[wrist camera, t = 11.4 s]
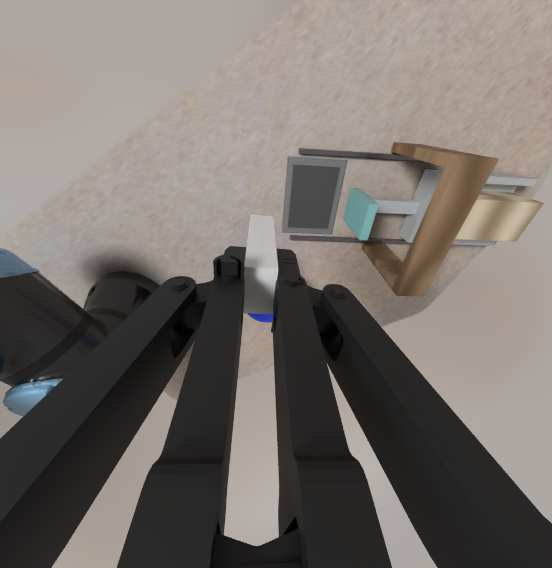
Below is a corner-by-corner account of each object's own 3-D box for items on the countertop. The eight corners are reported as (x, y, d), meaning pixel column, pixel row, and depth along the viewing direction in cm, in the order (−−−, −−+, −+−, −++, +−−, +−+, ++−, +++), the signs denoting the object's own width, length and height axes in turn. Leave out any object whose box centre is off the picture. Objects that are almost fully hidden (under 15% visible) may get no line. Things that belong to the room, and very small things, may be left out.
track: (289, 240, 43) (290, 243, 42) (299, 144, 34) (300, 145, 33) (443, 245, 45) (447, 248, 44) (490, 157, 36) (496, 158, 35)
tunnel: (361, 248, 45) (396, 295, 33) (393, 142, 34) (460, 156, 23) (381, 248, 45) (423, 296, 33) (419, 144, 35) (499, 159, 23)
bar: (422, 224, 41) (444, 238, 36) (438, 188, 37) (464, 199, 33) (486, 226, 42) (516, 241, 37) (508, 191, 38) (543, 203, 33)
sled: (337, 232, 42) (353, 258, 34) (352, 164, 36) (377, 178, 28) (480, 237, 44) (526, 264, 36) (519, 174, 37) (585, 190, 30)
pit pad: (282, 231, 42) (282, 232, 42) (288, 156, 35) (288, 156, 35) (331, 233, 43) (331, 234, 42) (346, 160, 36) (347, 160, 35)
